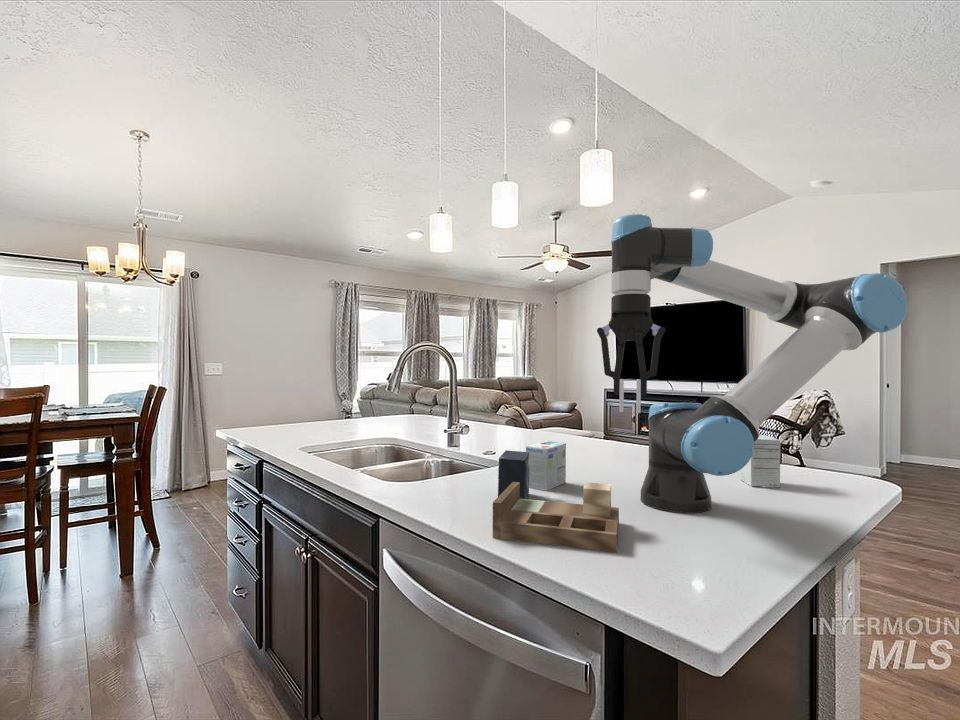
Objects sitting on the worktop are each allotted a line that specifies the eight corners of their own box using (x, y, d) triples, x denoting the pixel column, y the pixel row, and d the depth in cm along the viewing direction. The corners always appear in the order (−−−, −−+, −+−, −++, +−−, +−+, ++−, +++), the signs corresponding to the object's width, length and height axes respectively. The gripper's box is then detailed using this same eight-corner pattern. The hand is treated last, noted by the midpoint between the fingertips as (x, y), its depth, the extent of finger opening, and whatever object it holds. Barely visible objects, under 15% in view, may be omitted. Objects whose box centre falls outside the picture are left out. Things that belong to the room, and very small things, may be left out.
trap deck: (618, 522, 100) (619, 490, 100) (616, 552, 84) (616, 514, 84) (512, 511, 106) (512, 481, 106) (492, 537, 91) (492, 502, 91)
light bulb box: (544, 479, 136) (544, 439, 135) (566, 482, 132) (567, 442, 132) (524, 487, 127) (524, 445, 127) (547, 491, 123) (548, 448, 123)
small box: (525, 506, 111) (525, 459, 110) (496, 504, 112) (497, 458, 112) (530, 493, 121) (530, 450, 121) (504, 492, 122) (504, 449, 122)
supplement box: (739, 480, 136) (739, 434, 136) (768, 481, 135) (768, 435, 134) (750, 487, 128) (750, 438, 128) (781, 488, 127) (781, 439, 127)
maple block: (610, 509, 99) (611, 484, 99) (609, 516, 94) (609, 490, 94) (585, 506, 100) (585, 482, 100) (583, 514, 95) (583, 488, 95)
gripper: (671, 295, 100) (670, 411, 100) (592, 298, 105) (591, 408, 105) (674, 290, 93) (673, 415, 93) (589, 293, 98) (588, 412, 98)
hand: (629, 411), depth 99 cm, fingers open, 3 cm apart
